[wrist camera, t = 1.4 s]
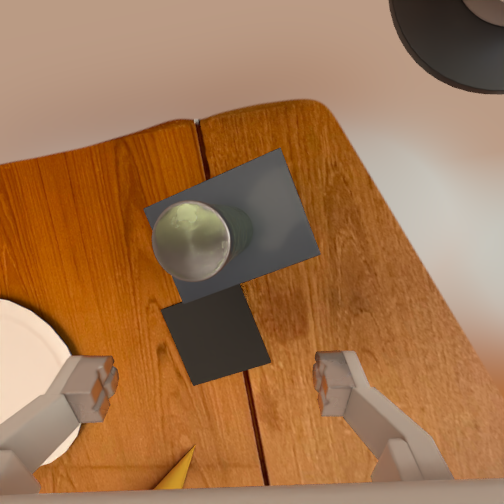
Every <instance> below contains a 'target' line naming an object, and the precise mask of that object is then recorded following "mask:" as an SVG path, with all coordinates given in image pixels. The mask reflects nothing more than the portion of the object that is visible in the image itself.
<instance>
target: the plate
mask: <svg viewBox="0 0 504 504" xmlns="http://www.w3.org/2000/svg"><path fill="white" fill-rule="evenodd" d="M70 356H72V354H71V352H70V350H69V348H68V346H67V345H66V343H65V342H64V341H63V340H62V338H61V337H60V336H59V335H58V333H57V332H56V331H55V330H54V329H53V327H52V326H51V325H50V324H48V323H47V322H46V321H44V320H43V319H42V318H41V317H39V316H38V315H37V314H36V313H34V312H33V311H32V310H30V309H28V308H25V307H23V306H21V305H19V304H17V303H15V302H12V301H10V300H5V299H0V424H1V423H3V422H4V421H5V420H7V419H8V418H9V417H11V416H12V415H14V414H15V413H16V412H18V411H19V410H20V409H22V408H23V407H24V406H26V405H27V404H29V403H30V402H31V401H33V400H34V399H35V398H37V397H38V396H39V395H45V393H46V391H47V390H48V388H49V387H50V385H51V384H52V382H53V380H54V379H55V377H56V376H57V374H58V372H59V371H60V369H61V368H62V366H63V365H64V363H65V361H66V360H67V359H68V358H69V357H70ZM79 424H80V425H79V426H78V427H77V428H76V429H75V430H74V431H73V432H72V433H71V434H70V436H69V437H68V438H67V439H66V440H65V441H64V442H63V443H62V444H61V445H60V446H59V447H58V448H57V449H56V450H55V451H54V452H53V453H52V454H51V455H50V456H49V457H48V458H47V459H46V460H45V461H44V463H43V464H42V465H45V464H48V463H51V462H52V461H54V460H55V459H57V458H58V457H59V456H61V455H62V454H63V453H65V452H66V451H67V450H68V448H69V447H70V445H71V444H72V443H73V441H74V440H75V438H76V437H77V435H78V433H79V430H80V427H81V423H79ZM42 465H41V466H42Z"/></svg>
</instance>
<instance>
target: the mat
mask: <svg viewBox="0 0 504 504" xmlns="http://www.w3.org/2000/svg"><path fill="white" fill-rule="evenodd" d="M161 312H162V314H163V317H164V319H165V321H166V324H167V326H168V328H169V331H170V333H171V335H172V338H173V340H174V342H175V344H176V347H177V349H178V351H179V354H180V356H181V358H182V361H183V363H184V365H185V368H186V370H187V372H188V375H189V377H190V379H191V382H192V384H193V386H195V385H198V384H201V383H205V382H208V381H211V380H215V379H218V378H221V377H225V376H228V375H231V374H235V373H238V372H241V371H245V370H248V369H251V368H255V367H258V366H261V365H265V364H268V363H271V360H270V358H269V356H268V353H267V351H266V348H265V346H264V343H263V341H262V338H261V336H260V333H259V331H258V328H257V326H256V324H255V321H254V319H253V316H252V314H251V311H250V309H249V306H248V304H247V301H246V299H245V296H244V294H243V291H242V289H241V287H240V284H238V285H235V286H232V287H229V288H227V289H224V290H221V291H218V292H216V293H213V294H210V295H207V296H205V297H202V298H199V299H196V300H194V301H191V302H188V303H185V304H184V303H183V302H181V303H178V304H175V305H172V306H170V307H167V308H164V309H162V310H161Z"/></svg>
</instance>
